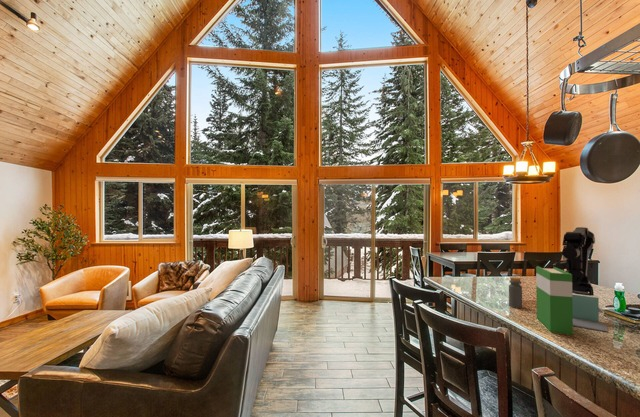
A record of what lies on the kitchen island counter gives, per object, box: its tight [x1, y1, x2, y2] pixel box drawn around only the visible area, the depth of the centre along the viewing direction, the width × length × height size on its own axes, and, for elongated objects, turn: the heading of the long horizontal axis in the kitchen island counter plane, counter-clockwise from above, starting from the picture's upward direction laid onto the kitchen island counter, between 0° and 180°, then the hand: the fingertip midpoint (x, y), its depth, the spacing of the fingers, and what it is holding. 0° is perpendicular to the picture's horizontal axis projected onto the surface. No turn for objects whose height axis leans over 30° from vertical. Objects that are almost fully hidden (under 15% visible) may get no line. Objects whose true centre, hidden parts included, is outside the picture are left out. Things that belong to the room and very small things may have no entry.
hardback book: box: [535, 265, 574, 336], centre depth 132 cm, size 18×7×24 cm, turn 160°
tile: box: [572, 293, 600, 322], centre depth 141 cm, size 3×11×11 cm, turn 51°
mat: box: [573, 318, 609, 333], centre depth 135 cm, size 12×15×1 cm
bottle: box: [508, 276, 523, 309], centre depth 161 cm, size 6×6×15 cm
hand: (574, 288), depth 153 cm, fingers closed
